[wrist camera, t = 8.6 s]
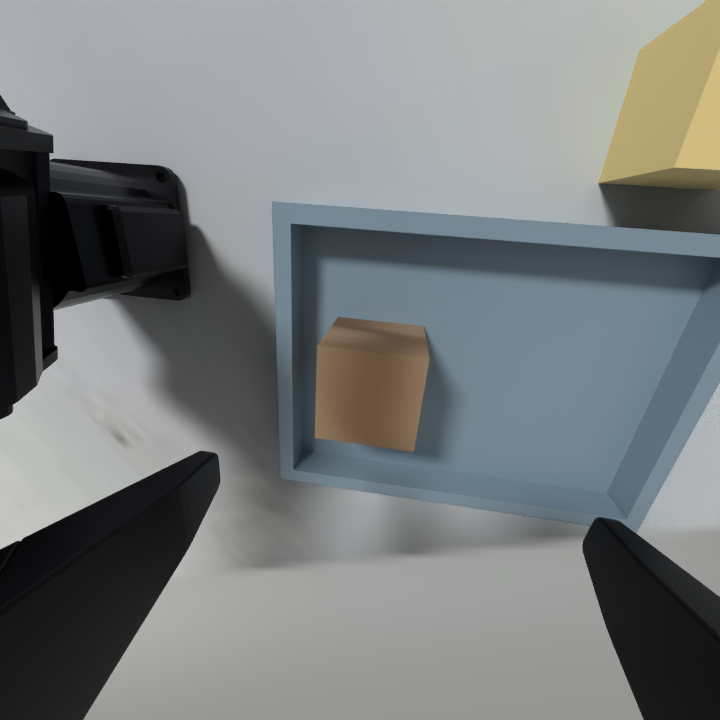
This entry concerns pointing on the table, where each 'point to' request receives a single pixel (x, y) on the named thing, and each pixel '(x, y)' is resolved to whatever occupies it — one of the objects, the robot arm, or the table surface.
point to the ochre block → (672, 110)
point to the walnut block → (371, 383)
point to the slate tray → (505, 354)
